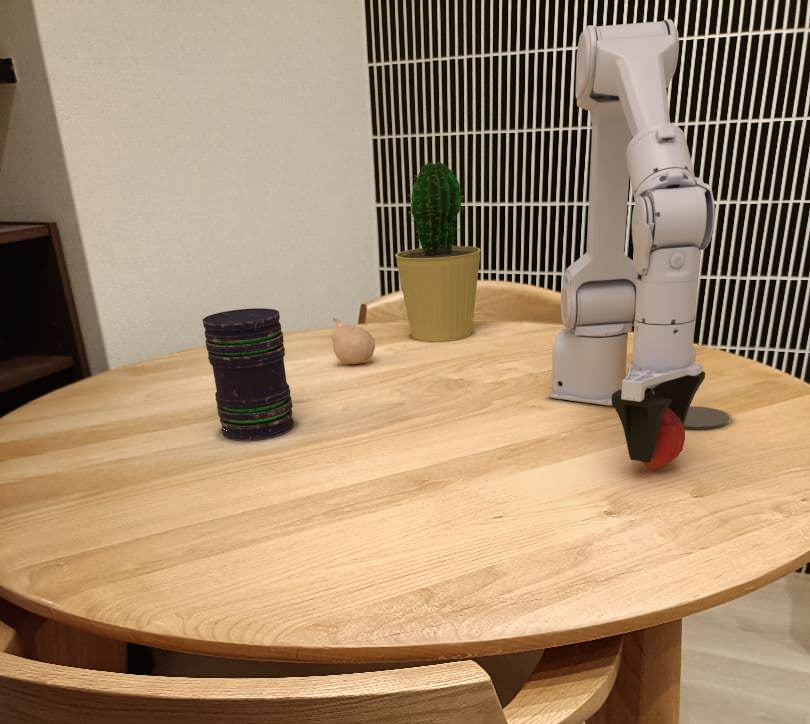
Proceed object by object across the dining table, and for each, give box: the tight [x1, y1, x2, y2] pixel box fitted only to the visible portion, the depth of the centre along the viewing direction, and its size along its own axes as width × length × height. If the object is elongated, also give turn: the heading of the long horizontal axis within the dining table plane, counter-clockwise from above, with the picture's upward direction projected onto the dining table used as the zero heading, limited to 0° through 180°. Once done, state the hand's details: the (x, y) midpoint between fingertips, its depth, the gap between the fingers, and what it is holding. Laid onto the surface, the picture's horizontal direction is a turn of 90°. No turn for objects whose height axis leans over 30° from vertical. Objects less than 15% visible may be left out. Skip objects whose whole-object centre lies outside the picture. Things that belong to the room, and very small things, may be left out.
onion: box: [639, 408, 686, 472], centre depth 86 cm, size 6×6×8 cm
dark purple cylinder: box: [202, 307, 295, 442], centre depth 107 cm, size 10×10×15 cm
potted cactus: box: [394, 159, 482, 342], centre depth 147 cm, size 15×15×30 cm
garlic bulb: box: [331, 316, 376, 365], centre depth 136 cm, size 7×6×8 cm
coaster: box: [684, 405, 731, 431], centre depth 102 cm, size 8×8×1 cm
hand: (655, 448), depth 87 cm, fingers open, 7 cm apart
